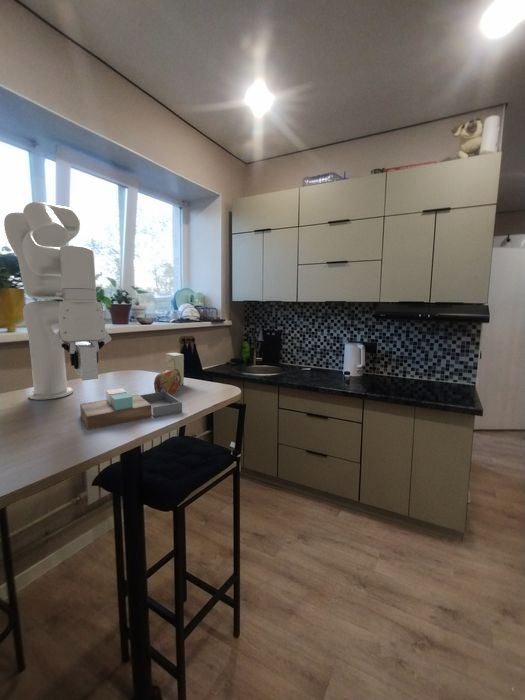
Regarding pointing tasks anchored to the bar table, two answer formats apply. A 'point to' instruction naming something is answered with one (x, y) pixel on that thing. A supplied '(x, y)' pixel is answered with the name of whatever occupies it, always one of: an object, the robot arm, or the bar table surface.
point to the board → (113, 412)
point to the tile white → (114, 393)
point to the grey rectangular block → (86, 361)
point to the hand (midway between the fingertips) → (85, 366)
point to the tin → (168, 381)
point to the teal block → (121, 401)
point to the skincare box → (176, 363)
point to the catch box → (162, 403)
